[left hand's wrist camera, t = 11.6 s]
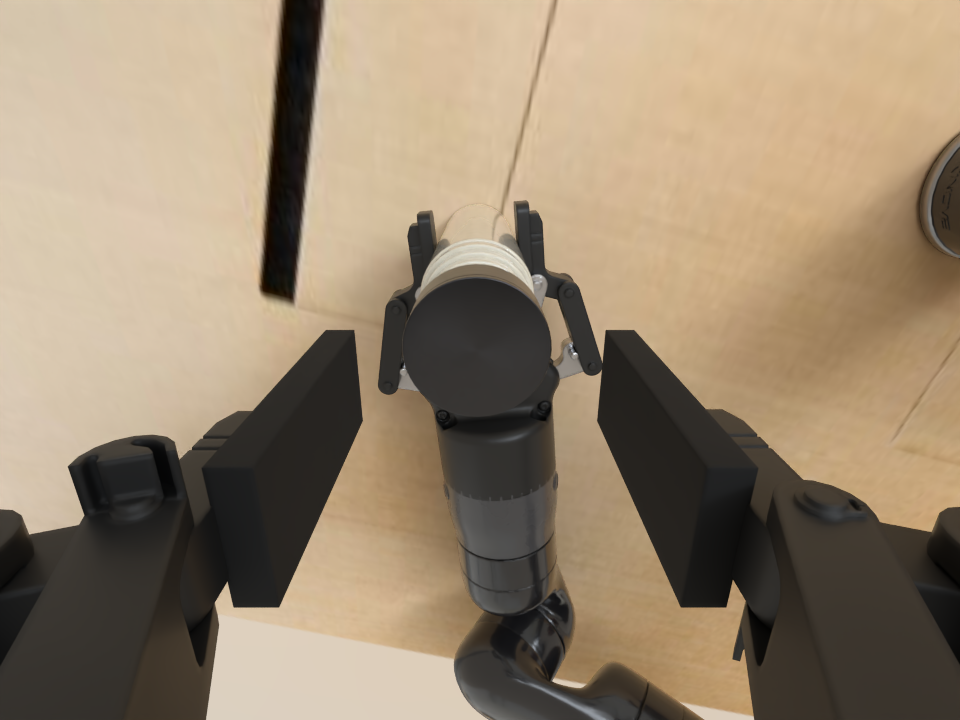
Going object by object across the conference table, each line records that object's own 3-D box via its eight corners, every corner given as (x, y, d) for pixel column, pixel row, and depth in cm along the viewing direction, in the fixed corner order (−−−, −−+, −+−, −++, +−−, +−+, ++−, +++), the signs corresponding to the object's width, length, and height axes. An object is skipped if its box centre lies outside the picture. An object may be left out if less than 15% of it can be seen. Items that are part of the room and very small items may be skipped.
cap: (570, 305, 17) (580, 323, 15) (501, 411, 18) (503, 439, 16) (449, 237, 16) (445, 248, 14) (387, 354, 17) (377, 377, 15)
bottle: (524, 225, 35) (583, 317, 15) (490, 284, 37) (504, 437, 17) (464, 190, 34) (444, 240, 14) (432, 251, 36) (374, 373, 16)
